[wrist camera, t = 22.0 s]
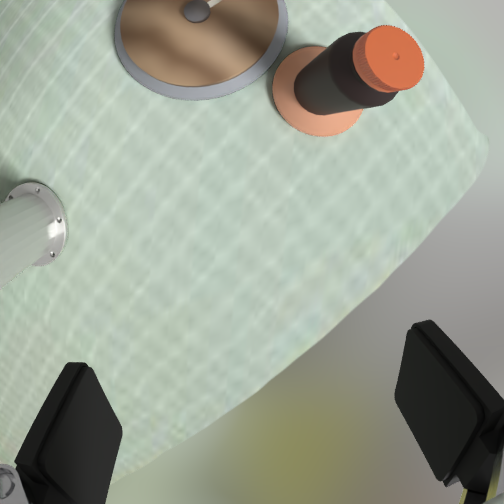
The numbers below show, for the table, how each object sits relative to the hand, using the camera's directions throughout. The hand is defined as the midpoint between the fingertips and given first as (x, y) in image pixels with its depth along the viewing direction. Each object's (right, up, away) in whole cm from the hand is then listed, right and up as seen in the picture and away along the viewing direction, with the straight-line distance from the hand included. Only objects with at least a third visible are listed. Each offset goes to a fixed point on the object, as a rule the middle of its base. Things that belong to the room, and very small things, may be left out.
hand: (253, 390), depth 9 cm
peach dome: (+8, +24, +28) cm, 38 cm away
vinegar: (+8, +24, +28) cm, 37 cm away
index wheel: (-6, +32, +23) cm, 40 cm away
